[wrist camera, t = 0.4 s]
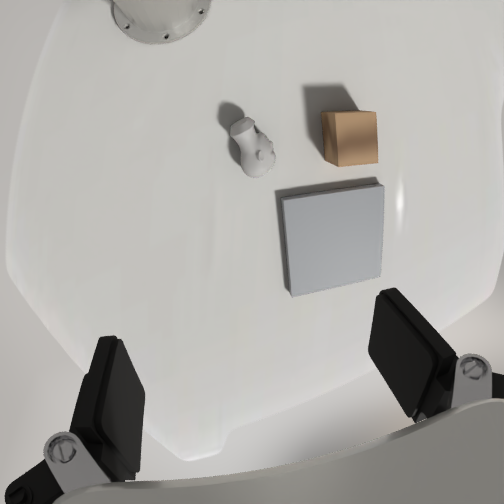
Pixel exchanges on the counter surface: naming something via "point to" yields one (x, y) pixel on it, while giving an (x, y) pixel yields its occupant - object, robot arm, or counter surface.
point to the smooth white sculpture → (253, 148)
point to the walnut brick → (350, 137)
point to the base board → (333, 237)
